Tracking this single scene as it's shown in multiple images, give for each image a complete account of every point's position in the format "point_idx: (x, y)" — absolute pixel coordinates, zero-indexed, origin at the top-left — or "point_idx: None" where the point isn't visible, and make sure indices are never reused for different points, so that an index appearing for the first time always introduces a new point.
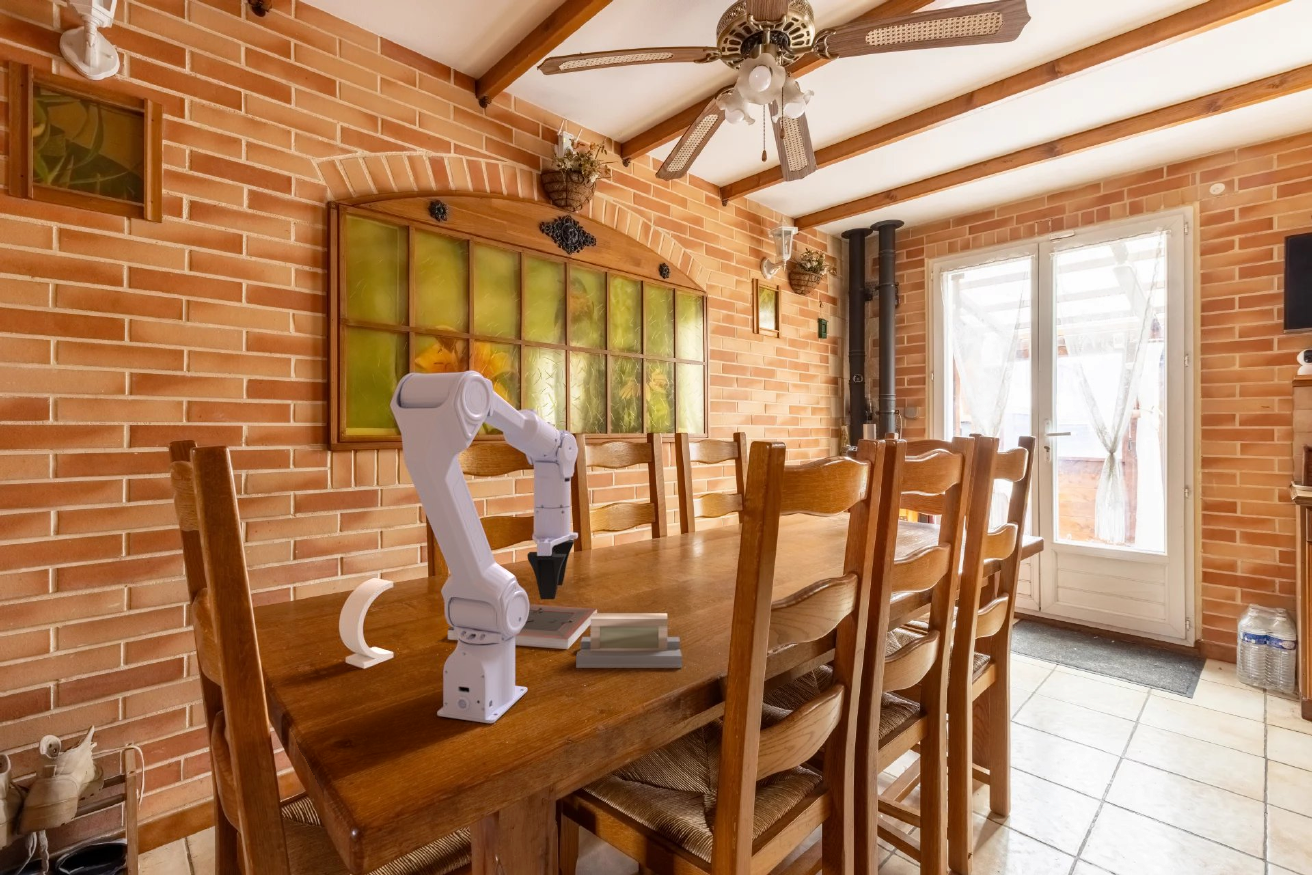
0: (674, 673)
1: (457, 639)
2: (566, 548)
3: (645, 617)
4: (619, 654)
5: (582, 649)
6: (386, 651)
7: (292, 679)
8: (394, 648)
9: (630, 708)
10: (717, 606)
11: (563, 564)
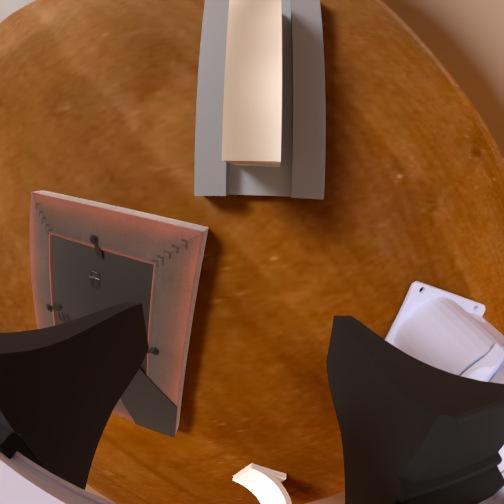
0: (341, 13)
1: (179, 416)
2: (24, 379)
3: (269, 3)
4: (316, 96)
5: (233, 190)
6: (249, 472)
7: (305, 498)
8: (221, 465)
9: (468, 108)
10: (37, 4)
11: (87, 342)
